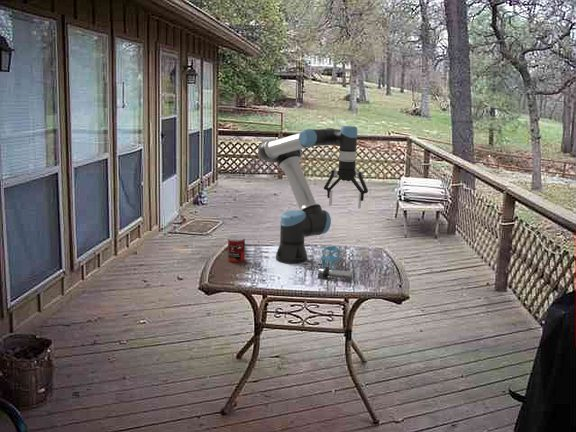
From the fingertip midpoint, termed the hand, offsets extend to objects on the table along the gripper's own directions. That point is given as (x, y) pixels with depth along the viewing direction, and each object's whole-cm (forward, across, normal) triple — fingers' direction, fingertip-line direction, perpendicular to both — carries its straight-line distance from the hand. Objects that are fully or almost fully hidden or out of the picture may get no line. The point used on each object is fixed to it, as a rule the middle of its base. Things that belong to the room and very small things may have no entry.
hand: (344, 206), depth 286 cm
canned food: (+29, +49, +10) cm, 58 cm away
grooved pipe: (+29, -1, +20) cm, 35 cm away
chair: (+29, +3, +12) cm, 31 cm away
